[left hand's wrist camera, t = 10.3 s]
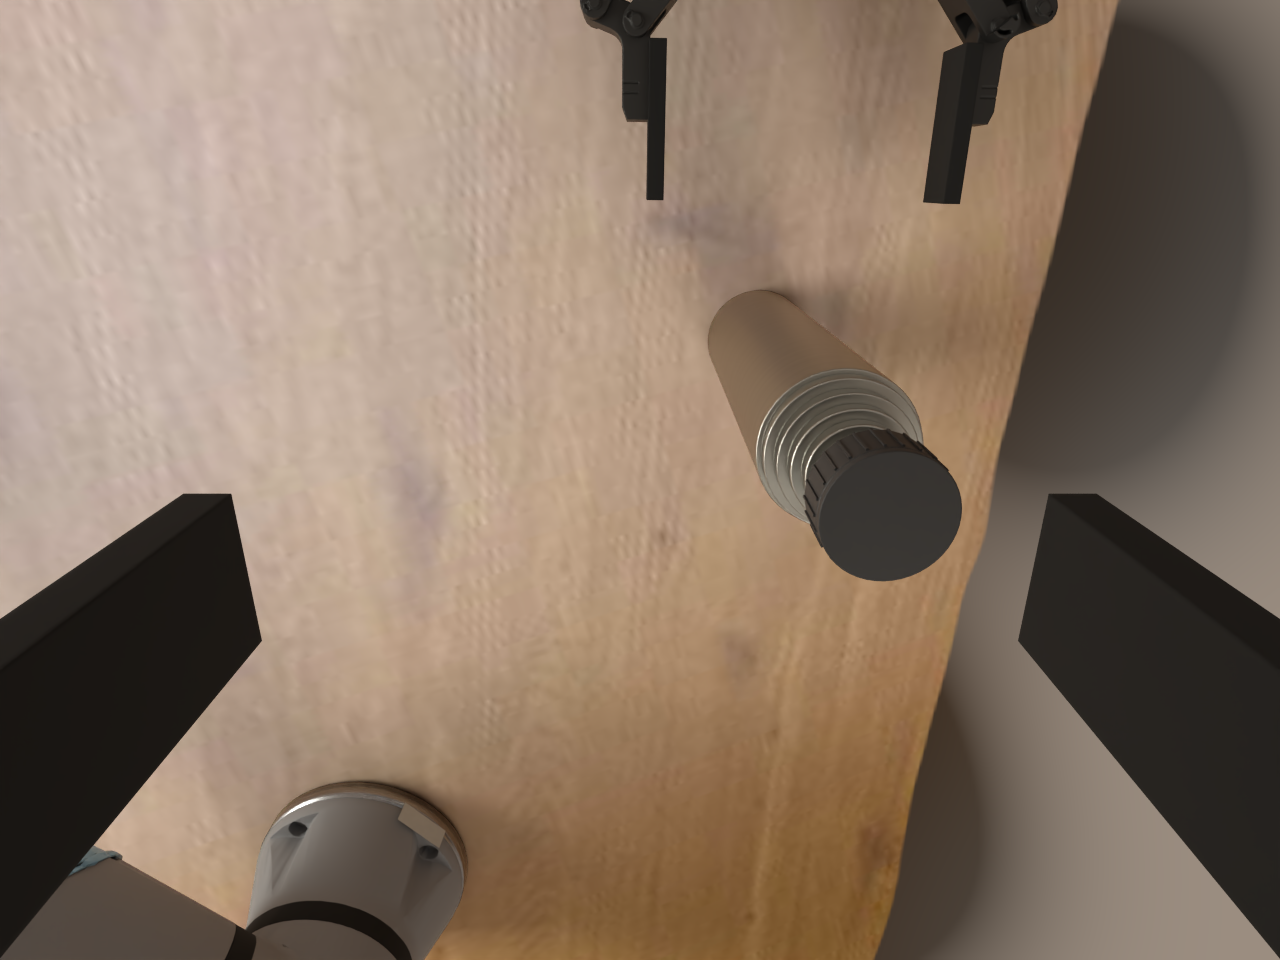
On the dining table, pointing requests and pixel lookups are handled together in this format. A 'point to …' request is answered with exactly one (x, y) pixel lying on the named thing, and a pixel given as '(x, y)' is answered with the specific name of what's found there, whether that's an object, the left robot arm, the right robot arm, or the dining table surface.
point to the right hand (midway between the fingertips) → (797, 202)
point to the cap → (882, 505)
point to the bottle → (797, 390)
